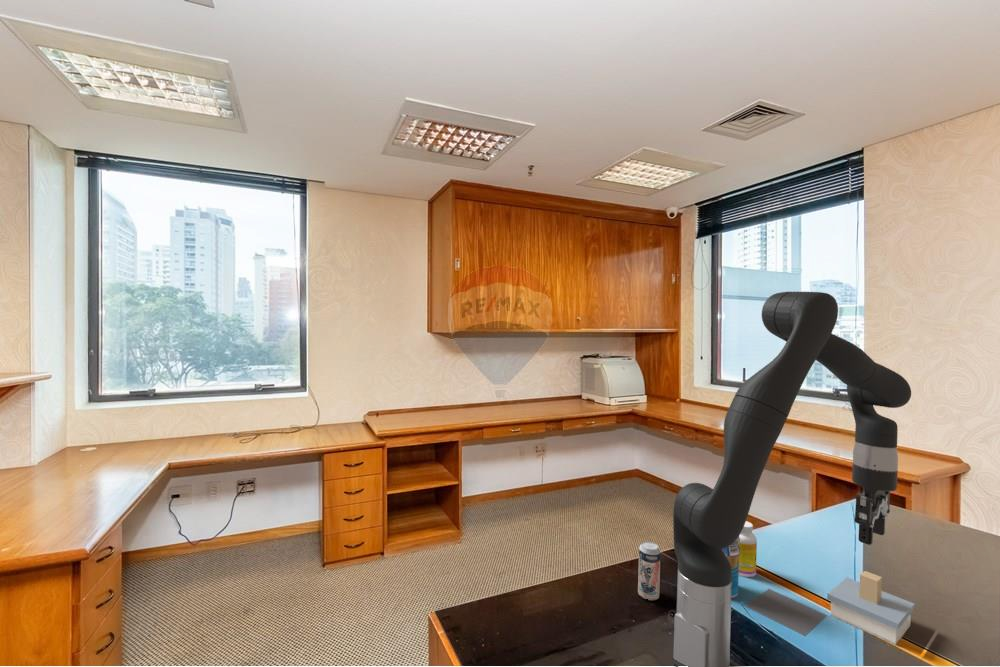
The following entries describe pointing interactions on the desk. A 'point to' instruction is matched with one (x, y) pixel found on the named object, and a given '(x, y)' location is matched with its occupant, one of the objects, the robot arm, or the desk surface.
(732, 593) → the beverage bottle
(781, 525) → the desk surface
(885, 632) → the white rectangular open box
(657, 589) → the beer can
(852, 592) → the lid
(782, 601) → the mat
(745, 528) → the supplement bottle
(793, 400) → the robot arm
